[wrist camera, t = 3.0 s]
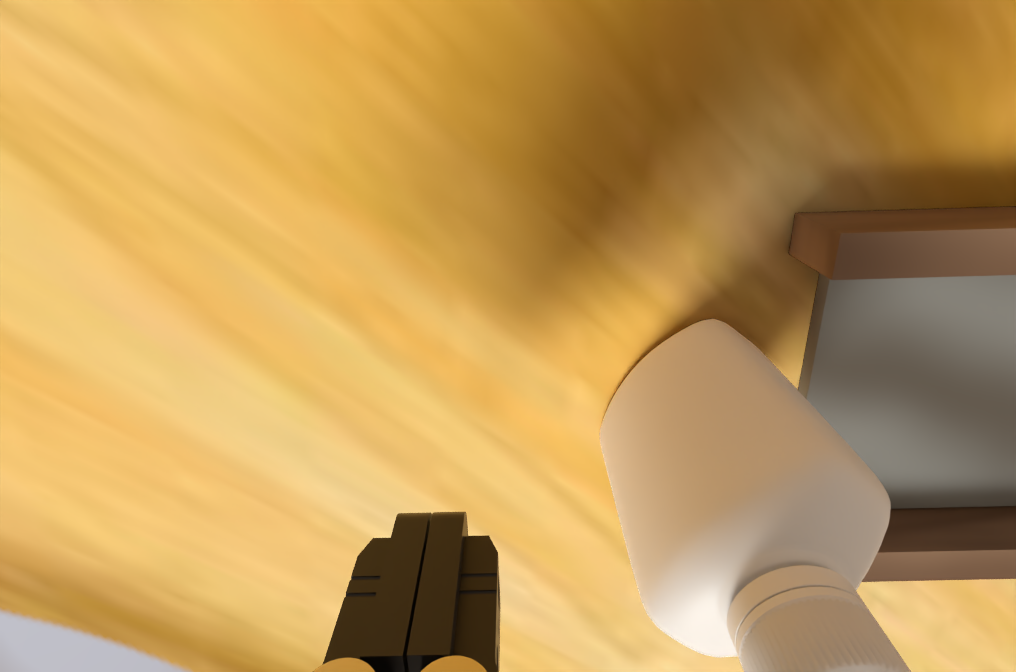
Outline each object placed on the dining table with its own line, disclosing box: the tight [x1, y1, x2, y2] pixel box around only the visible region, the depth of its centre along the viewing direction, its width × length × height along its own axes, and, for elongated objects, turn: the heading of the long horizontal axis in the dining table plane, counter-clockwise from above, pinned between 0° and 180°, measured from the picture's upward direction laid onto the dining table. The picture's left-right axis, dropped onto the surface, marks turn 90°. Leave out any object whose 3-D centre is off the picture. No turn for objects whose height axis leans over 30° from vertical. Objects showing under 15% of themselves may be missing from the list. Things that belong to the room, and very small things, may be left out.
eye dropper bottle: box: [600, 319, 911, 672], centre depth 14 cm, size 4×6×12 cm
